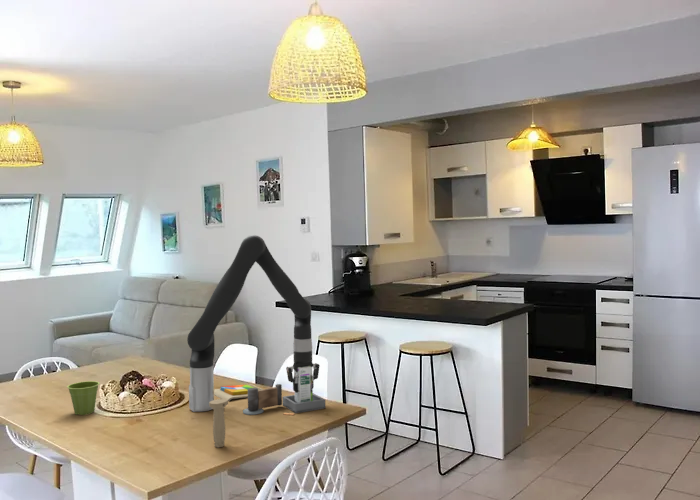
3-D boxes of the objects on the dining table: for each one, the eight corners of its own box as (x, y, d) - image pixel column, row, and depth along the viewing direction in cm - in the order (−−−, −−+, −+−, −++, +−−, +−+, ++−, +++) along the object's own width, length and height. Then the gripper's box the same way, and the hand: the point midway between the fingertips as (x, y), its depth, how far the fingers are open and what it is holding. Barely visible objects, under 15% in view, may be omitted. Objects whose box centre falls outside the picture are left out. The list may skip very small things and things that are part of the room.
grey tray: (295, 413, 238) (295, 404, 238) (282, 405, 250) (282, 396, 249) (325, 408, 244) (325, 399, 244) (311, 400, 256) (311, 392, 256)
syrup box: (299, 404, 243) (299, 368, 243) (294, 400, 248) (293, 365, 248) (313, 402, 246) (312, 366, 245) (307, 398, 251) (306, 363, 250)
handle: (207, 447, 201) (206, 402, 201) (221, 442, 207) (220, 397, 206) (217, 450, 199) (216, 404, 198) (231, 444, 204) (230, 400, 203)
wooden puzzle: (267, 395, 267) (267, 387, 267) (227, 403, 256) (227, 394, 255) (249, 387, 281) (249, 380, 281) (210, 394, 270) (210, 386, 269)
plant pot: (89, 406, 251) (88, 379, 250) (106, 411, 244) (105, 383, 244) (61, 414, 241) (60, 385, 241) (78, 419, 234) (77, 390, 234)
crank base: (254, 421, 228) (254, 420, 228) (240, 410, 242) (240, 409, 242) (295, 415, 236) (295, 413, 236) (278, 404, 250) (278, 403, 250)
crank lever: (250, 411, 238) (250, 391, 238) (246, 408, 241) (246, 388, 241) (283, 405, 246) (283, 385, 246) (279, 403, 249) (279, 383, 249)
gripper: (314, 346, 253) (315, 386, 254) (282, 349, 246) (283, 391, 247) (323, 349, 247) (323, 390, 247) (290, 352, 240) (290, 395, 240)
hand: (303, 390), depth 247 cm, fingers closed on syrup box, 5 cm apart
